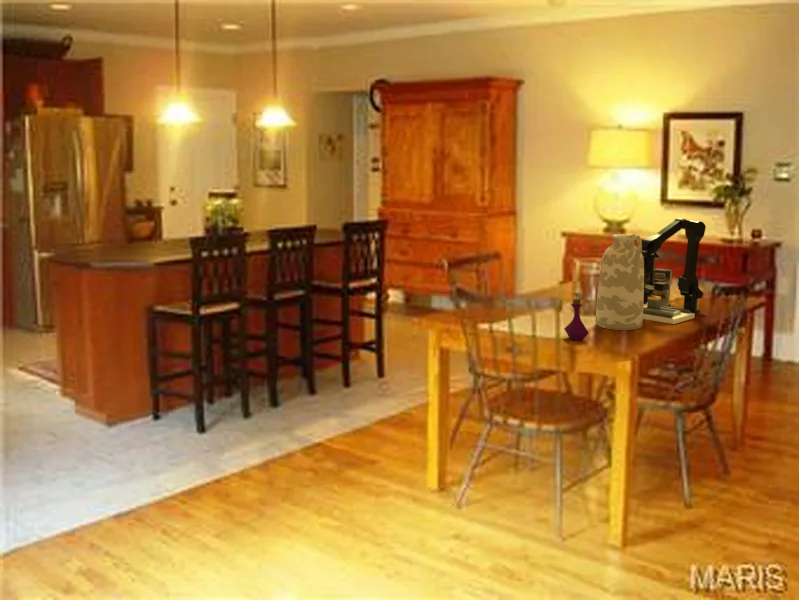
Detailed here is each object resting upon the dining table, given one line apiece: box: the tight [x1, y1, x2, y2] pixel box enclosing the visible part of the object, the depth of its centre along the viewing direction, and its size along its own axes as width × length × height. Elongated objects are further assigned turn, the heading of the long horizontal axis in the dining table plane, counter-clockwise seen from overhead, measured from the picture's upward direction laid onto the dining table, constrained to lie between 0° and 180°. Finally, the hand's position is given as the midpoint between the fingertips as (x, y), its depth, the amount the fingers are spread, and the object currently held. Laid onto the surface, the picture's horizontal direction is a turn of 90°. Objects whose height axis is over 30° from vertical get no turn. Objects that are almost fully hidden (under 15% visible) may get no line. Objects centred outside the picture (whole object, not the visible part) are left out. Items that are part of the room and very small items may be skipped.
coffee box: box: [651, 267, 673, 307], centre depth 417 cm, size 9×6×16 cm
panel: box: [643, 305, 696, 325], centre depth 390 cm, size 18×22×4 cm
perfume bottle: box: [563, 292, 589, 341], centre depth 345 cm, size 8×8×18 cm
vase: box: [595, 233, 644, 331], centre depth 367 cm, size 20×19×38 cm
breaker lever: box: [646, 296, 662, 310], centre depth 391 cm, size 4×4×6 cm
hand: (645, 304), depth 394 cm, fingers closed
